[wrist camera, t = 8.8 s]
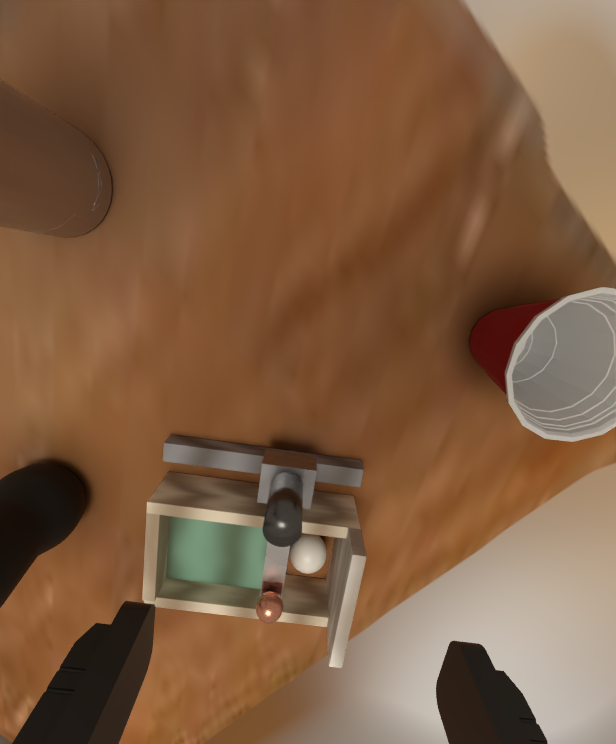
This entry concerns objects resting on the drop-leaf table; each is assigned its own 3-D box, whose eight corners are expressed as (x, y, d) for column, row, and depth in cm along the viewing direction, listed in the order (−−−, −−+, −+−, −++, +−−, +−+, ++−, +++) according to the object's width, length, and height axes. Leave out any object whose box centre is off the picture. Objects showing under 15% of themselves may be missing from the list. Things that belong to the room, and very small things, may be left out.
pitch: (162, 567, 42) (125, 643, 33) (171, 434, 38) (130, 480, 29) (334, 588, 43) (341, 667, 34) (360, 460, 39) (376, 512, 30)
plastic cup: (465, 411, 38) (536, 470, 26) (426, 315, 35) (485, 333, 24) (568, 366, 36) (691, 407, 25) (536, 264, 34) (655, 256, 22)
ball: (323, 557, 42) (289, 551, 42) (329, 527, 41) (293, 521, 41) (323, 585, 38) (285, 579, 38) (329, 553, 37) (290, 546, 37)
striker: (251, 559, 39) (234, 639, 30) (265, 448, 36) (252, 503, 27) (297, 565, 39) (294, 646, 31) (316, 455, 36) (318, 511, 27)
